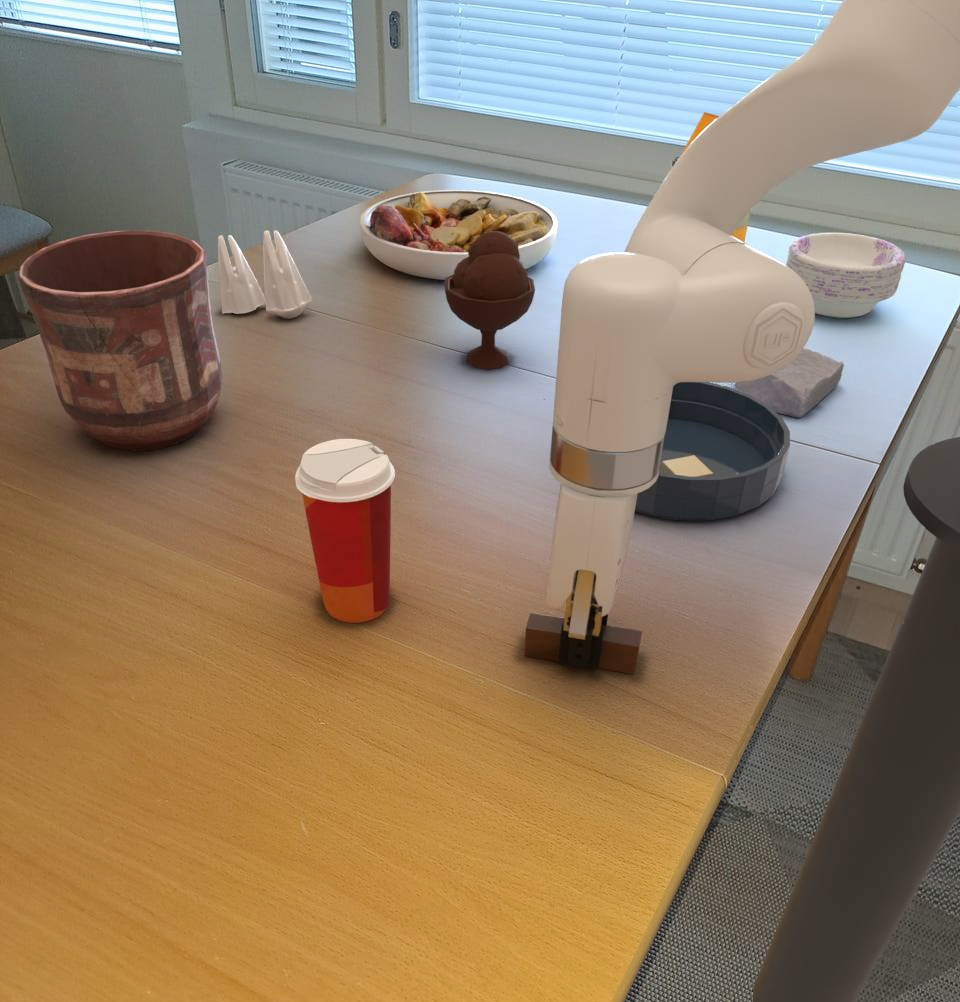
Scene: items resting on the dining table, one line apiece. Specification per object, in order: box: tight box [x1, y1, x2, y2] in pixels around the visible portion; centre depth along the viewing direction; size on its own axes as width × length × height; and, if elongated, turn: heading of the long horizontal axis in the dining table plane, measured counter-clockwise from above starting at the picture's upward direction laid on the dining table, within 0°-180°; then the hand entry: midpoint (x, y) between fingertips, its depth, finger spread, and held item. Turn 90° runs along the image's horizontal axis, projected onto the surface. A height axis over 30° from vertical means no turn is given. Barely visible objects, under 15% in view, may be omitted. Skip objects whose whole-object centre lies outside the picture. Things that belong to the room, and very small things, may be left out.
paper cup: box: [294, 438, 396, 624], centre depth 77 cm, size 8×8×14 cm
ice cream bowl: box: [444, 231, 536, 371], centre depth 113 cm, size 11×11×15 cm
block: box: [661, 455, 713, 477], centre depth 92 cm, size 4×4×4 cm
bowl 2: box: [635, 382, 791, 522], centre depth 98 cm, size 21×21×5 cm
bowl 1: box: [359, 189, 559, 281], centre depth 144 cm, size 30×30×8 cm
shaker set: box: [217, 229, 313, 319], centre depth 124 cm, size 12×4×11 cm, turn 75°
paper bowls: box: [785, 232, 907, 319], centre depth 130 cm, size 15×15×8 cm
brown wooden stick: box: [523, 612, 643, 675], centre depth 76 cm, size 9×2×3 cm, turn 77°
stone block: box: [734, 347, 845, 419], centre depth 112 cm, size 12×5×10 cm
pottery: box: [17, 230, 223, 452], centre depth 98 cm, size 18×18×18 cm
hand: (581, 649), depth 76 cm, fingers closed
